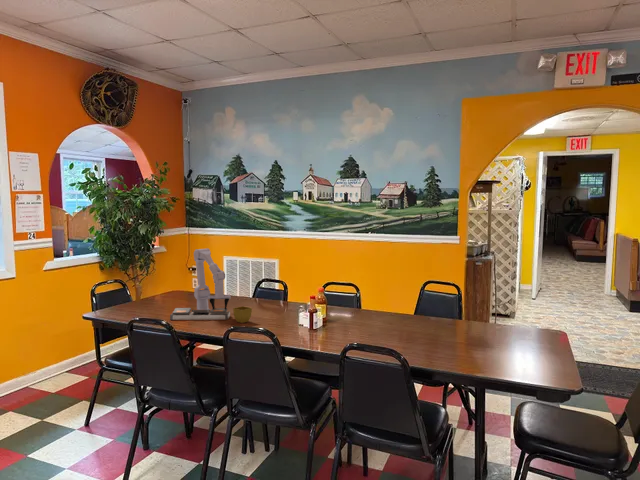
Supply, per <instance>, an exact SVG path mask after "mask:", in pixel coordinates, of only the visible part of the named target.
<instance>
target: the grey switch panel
mask: <svg viewBox="0 0 640 480" xmlns="http://www.w3.org/2000/svg"><path fill="white" fill-rule="evenodd" d="M169 315H170V316H169V320H170V321H209V320H210V321H211V320H212V321H214V320H218V321H219V320H225V321H226V320H229V318H230V316H231V311H230V310H229V311H228V310H227V312H226V313H210V311H209V312H201V313H194V312H192V311H190V312H189V314H173V312H172V313H171V314H169Z"/></svg>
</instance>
